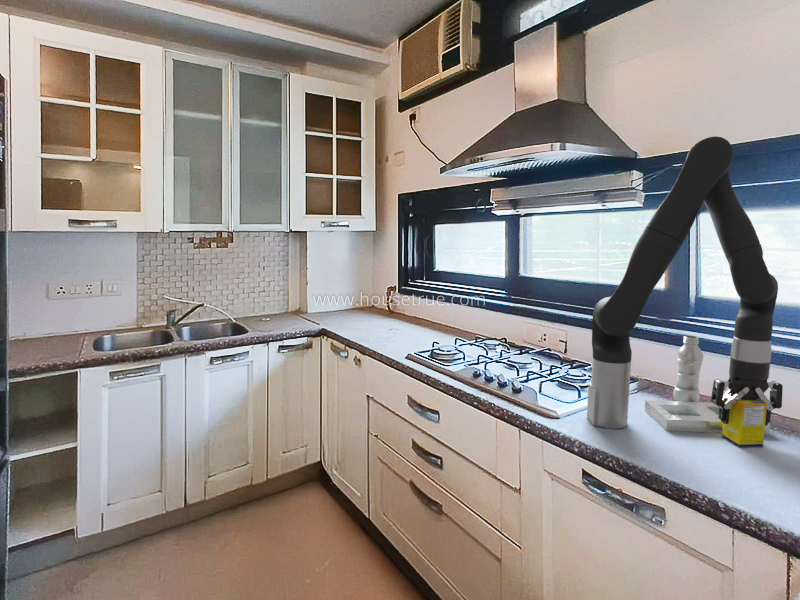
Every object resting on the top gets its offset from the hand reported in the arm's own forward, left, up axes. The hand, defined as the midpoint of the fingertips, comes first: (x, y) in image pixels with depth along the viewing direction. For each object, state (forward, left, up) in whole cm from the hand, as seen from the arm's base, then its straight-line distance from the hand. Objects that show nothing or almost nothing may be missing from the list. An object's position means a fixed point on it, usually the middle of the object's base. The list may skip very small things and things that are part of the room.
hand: (743, 423), depth 113 cm
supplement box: (0, 0, -5) cm, 5 cm away
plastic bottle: (-1, +26, -5) cm, 26 cm away
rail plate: (-3, +12, -5) cm, 13 cm away
